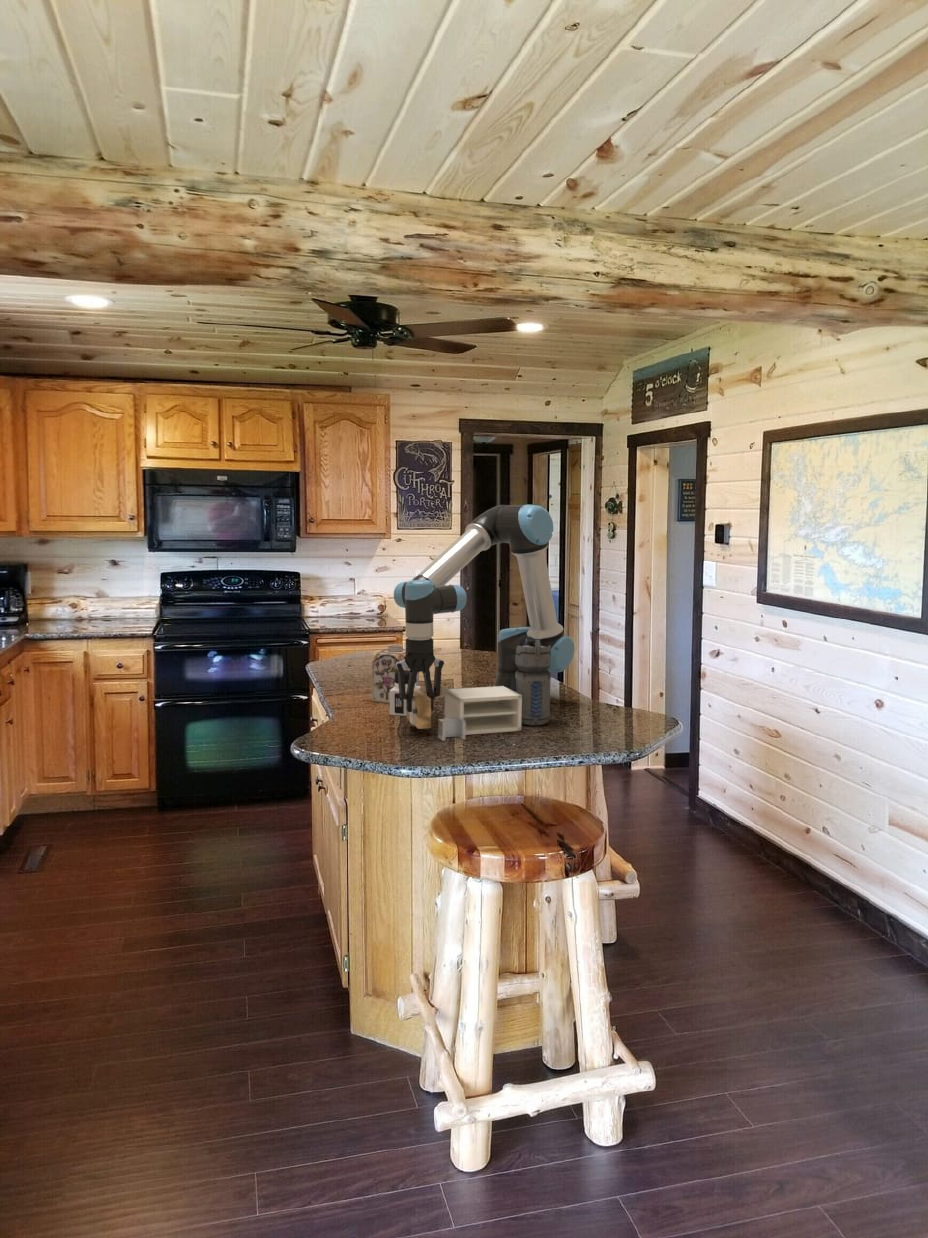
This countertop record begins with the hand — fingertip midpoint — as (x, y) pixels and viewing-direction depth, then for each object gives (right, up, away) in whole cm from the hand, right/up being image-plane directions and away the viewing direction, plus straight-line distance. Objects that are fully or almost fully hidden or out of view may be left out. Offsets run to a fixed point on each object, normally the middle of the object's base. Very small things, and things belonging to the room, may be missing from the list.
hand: (420, 722), depth 235 cm
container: (-6, 0, +24) cm, 25 cm away
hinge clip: (+9, -4, -5) cm, 11 cm away
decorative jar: (-10, +2, +42) cm, 44 cm away
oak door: (-1, 0, +2) cm, 2 cm away
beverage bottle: (+31, -2, +15) cm, 35 cm away
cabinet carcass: (+17, -2, +8) cm, 19 cm away
